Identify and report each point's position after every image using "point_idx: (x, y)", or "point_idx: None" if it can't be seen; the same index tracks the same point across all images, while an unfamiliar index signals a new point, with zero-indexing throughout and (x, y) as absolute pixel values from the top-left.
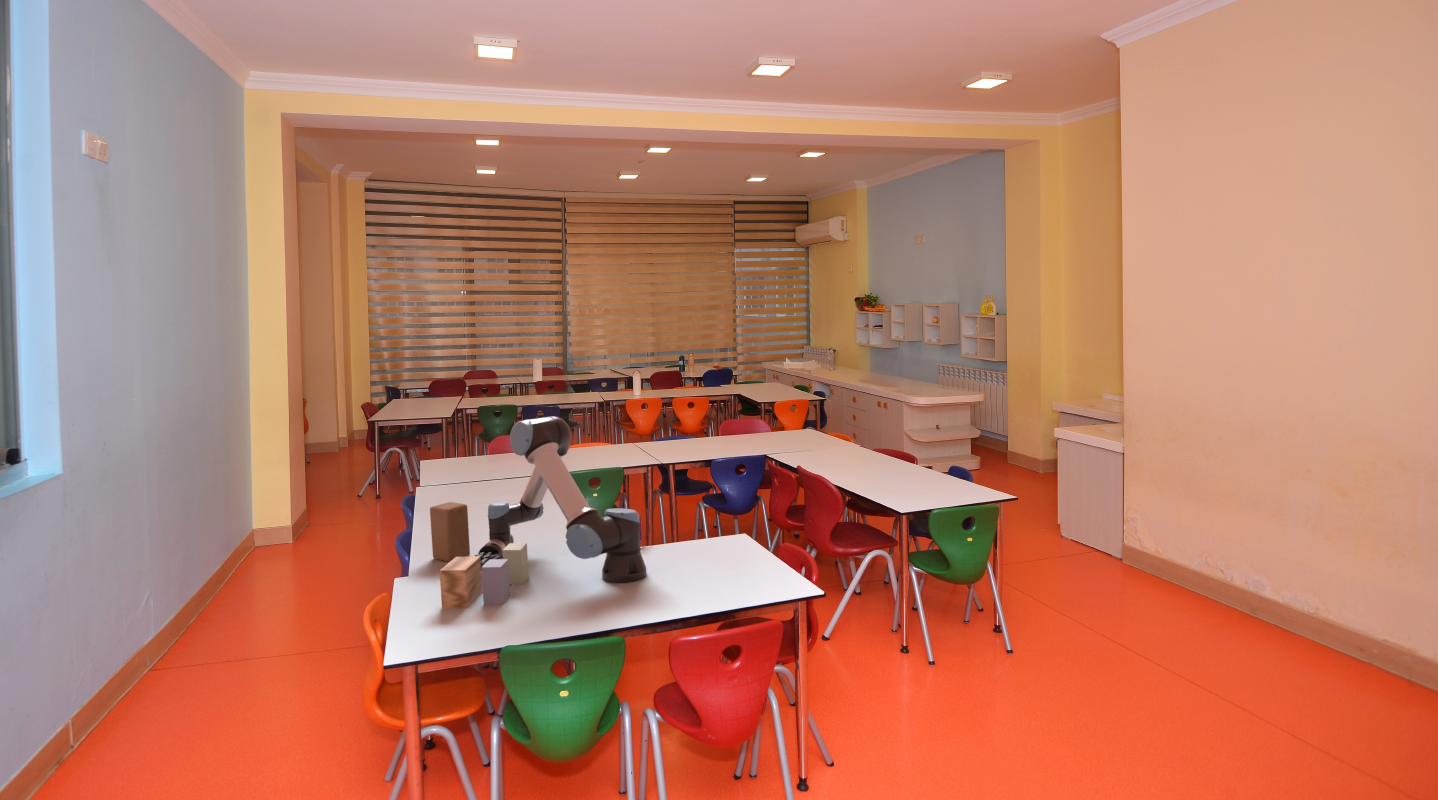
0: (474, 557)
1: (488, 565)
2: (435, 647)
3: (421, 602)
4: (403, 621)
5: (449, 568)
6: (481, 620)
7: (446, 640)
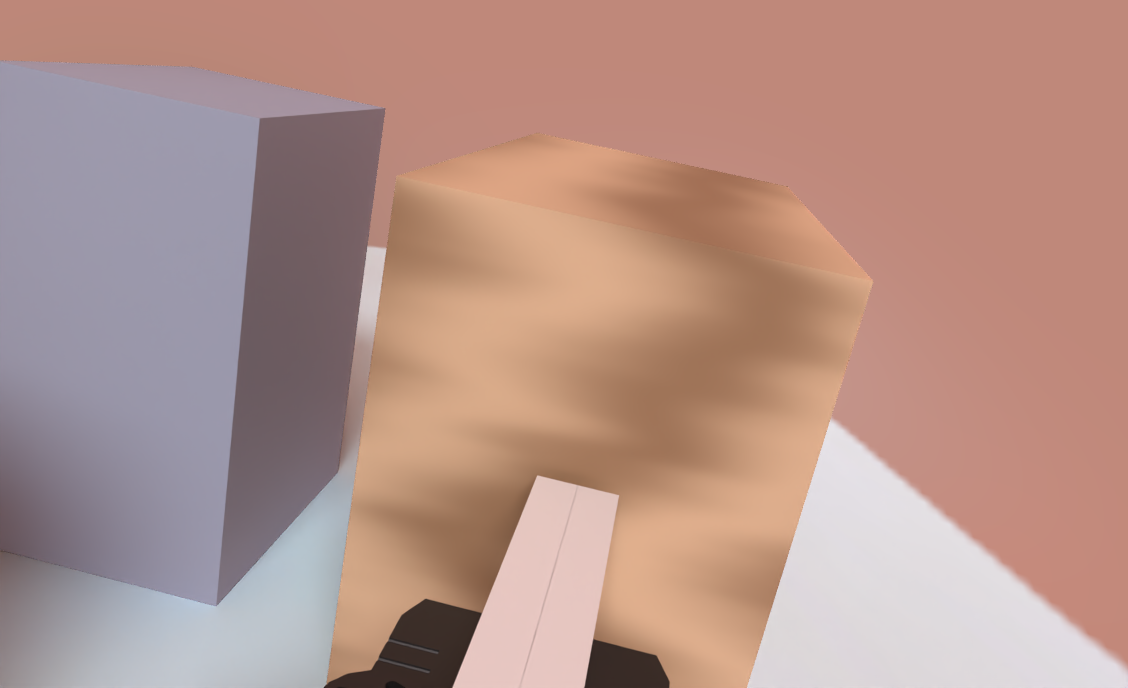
0: (501, 188)
1: (307, 98)
2: None
3: (989, 682)
4: (857, 456)
5: (713, 176)
6: (368, 341)
7: None
